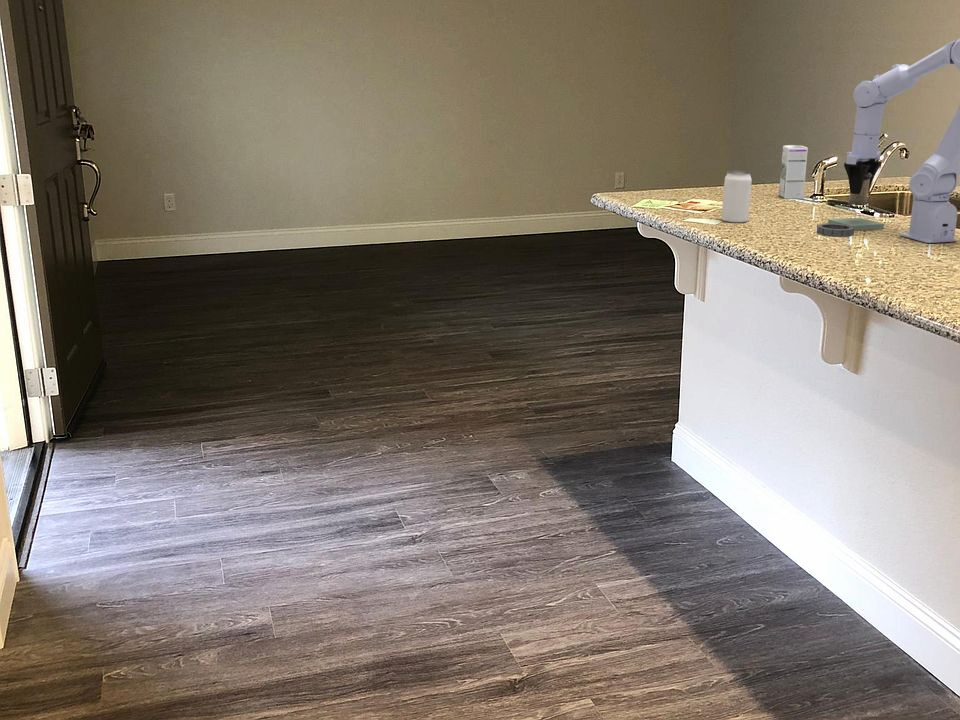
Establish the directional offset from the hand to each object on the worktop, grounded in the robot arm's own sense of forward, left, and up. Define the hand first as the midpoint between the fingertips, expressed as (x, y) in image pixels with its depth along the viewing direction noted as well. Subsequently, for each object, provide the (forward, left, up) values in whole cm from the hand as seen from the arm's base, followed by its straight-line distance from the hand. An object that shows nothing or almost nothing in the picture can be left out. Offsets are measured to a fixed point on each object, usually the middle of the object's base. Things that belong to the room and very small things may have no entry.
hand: (859, 192), depth 233 cm
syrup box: (+44, -11, -8) cm, 46 cm away
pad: (0, 0, -8) cm, 8 cm away
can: (+15, +24, -8) cm, 30 cm away
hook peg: (0, 0, -3) cm, 3 cm away
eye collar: (-6, +10, -8) cm, 14 cm away
